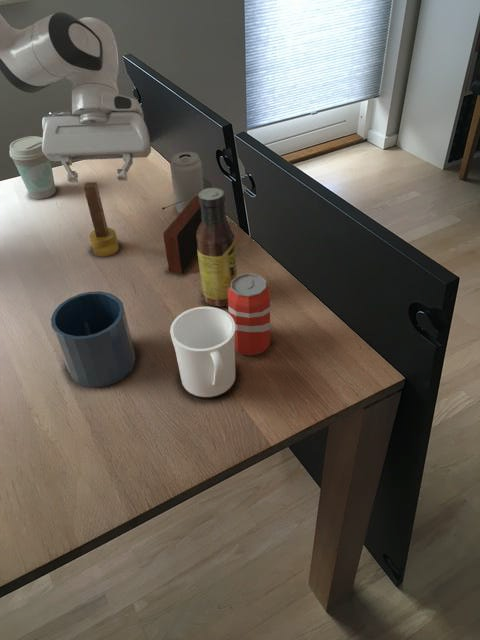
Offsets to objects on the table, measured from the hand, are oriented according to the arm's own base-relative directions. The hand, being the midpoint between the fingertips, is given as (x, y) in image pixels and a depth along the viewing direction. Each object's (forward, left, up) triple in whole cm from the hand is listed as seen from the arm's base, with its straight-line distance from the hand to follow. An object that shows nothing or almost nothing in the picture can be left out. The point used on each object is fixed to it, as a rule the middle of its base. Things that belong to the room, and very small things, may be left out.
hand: (97, 180), depth 102 cm
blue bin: (+5, -36, -12) cm, 38 cm away
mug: (+22, -41, -12) cm, 48 cm away
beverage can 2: (+28, -33, -12) cm, 45 cm away
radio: (+17, -7, -12) cm, 22 cm away
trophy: (0, -5, -12) cm, 13 cm away
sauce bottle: (+23, -21, -12) cm, 34 cm away
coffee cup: (-19, +19, -12) cm, 29 cm away
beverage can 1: (+16, +9, -12) cm, 22 cm away
